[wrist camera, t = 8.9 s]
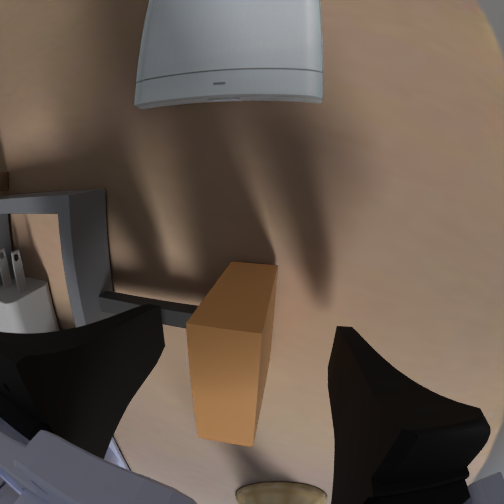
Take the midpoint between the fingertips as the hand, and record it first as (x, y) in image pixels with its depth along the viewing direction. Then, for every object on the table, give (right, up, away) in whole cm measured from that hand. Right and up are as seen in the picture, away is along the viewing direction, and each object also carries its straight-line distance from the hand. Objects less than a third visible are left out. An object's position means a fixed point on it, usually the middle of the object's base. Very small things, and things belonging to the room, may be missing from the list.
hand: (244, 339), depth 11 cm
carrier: (-8, +1, +3) cm, 9 cm away
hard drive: (-1, +16, -1) cm, 16 cm away
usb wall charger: (-15, +1, +5) cm, 15 cm away
